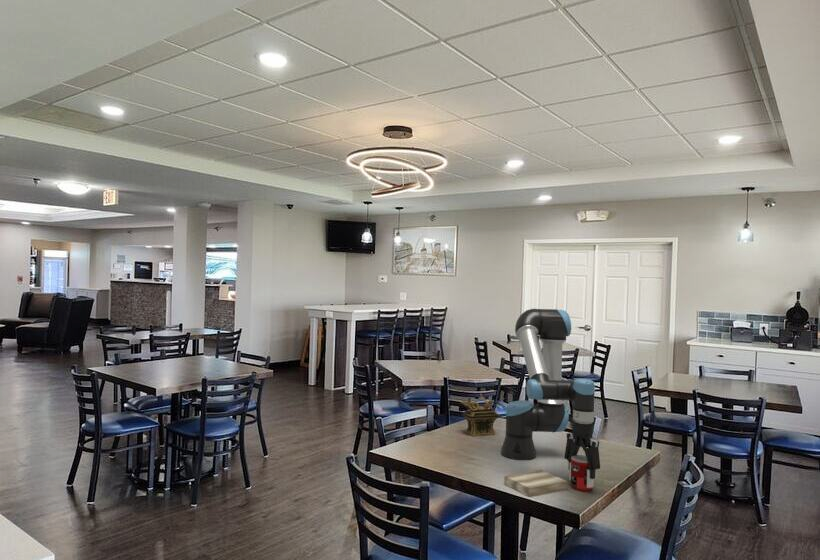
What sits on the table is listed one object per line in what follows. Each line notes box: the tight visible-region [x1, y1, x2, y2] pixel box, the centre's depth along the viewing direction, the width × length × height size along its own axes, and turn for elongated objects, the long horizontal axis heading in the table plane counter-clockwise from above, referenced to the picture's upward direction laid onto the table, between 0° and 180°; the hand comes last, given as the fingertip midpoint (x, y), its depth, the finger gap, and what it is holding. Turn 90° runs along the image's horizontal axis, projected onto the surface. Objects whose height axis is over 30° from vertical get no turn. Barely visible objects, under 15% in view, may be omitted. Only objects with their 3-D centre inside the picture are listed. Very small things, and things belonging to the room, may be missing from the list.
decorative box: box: [460, 393, 500, 437], centre depth 281 cm, size 20×10×20 cm, turn 111°
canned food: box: [570, 454, 594, 492], centre depth 207 cm, size 8×8×11 cm
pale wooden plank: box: [503, 469, 568, 498], centre depth 206 cm, size 14×18×3 cm
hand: (581, 483), depth 206 cm, fingers closed on canned food, 8 cm apart
